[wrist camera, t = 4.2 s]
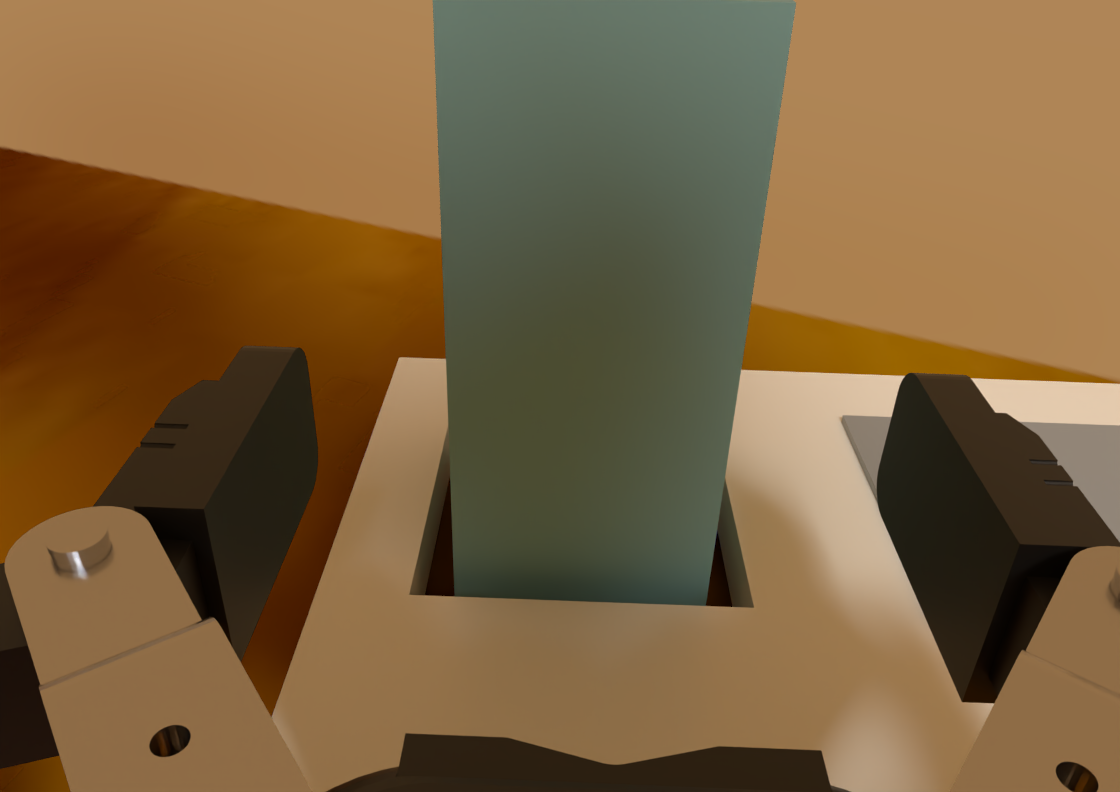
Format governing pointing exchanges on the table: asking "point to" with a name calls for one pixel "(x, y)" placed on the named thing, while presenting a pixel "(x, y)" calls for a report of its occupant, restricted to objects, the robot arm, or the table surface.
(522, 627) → the puzzle board
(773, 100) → the teal block
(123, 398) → the table surface
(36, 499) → the table surface
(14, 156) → the table surface
